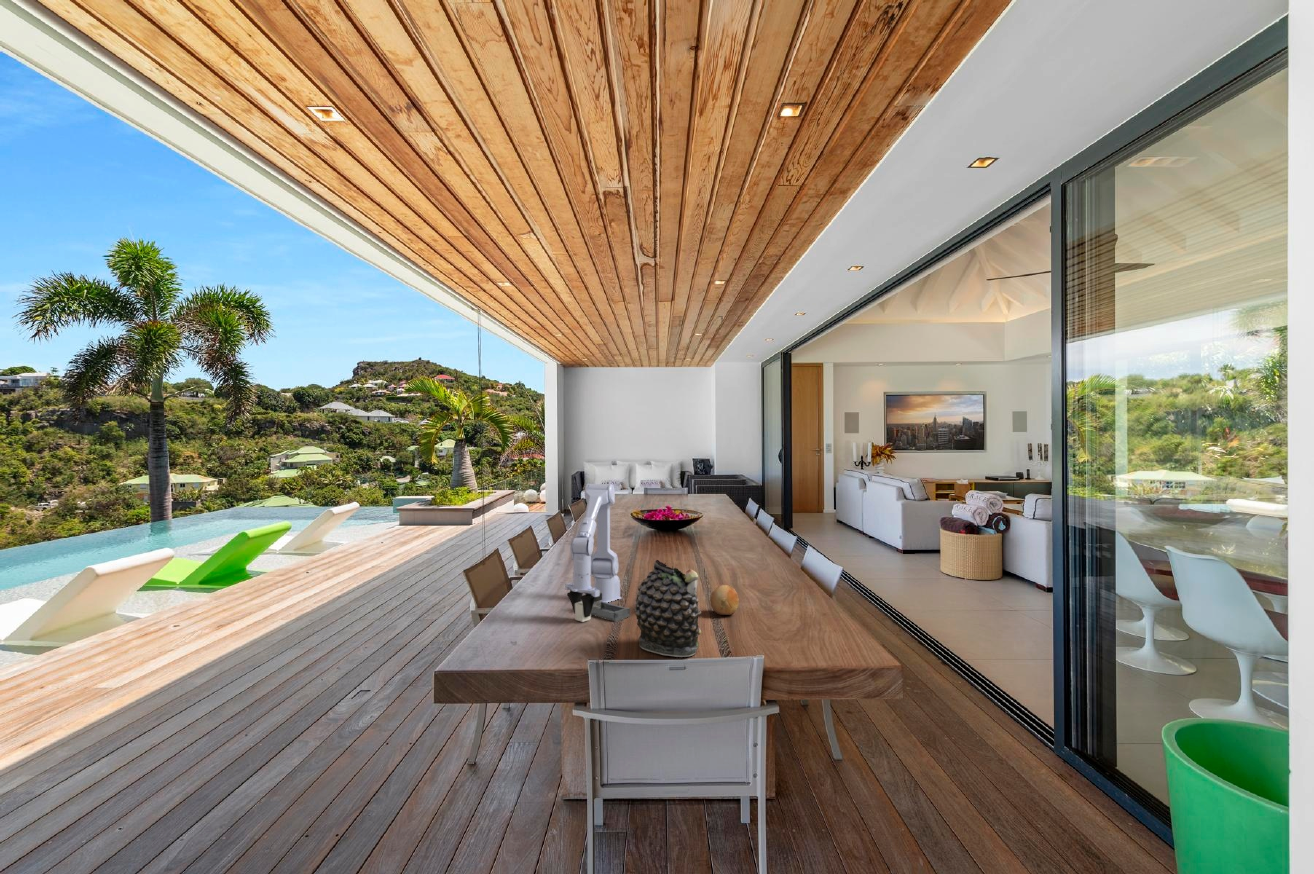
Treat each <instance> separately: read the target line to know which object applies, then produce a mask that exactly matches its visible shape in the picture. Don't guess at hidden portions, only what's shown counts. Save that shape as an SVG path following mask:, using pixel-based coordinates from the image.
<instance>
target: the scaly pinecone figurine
mask: <svg viewBox="0 0 1314 874" xmlns="http://www.w3.org/2000/svg"><path fill="white" fill-rule="evenodd" d="M653 564H654V565H653V570H652V571H649V572H648V573H647V575H646V578H644V579H643V580H642V581H641V582H640V583H641V584H640V585H638V586H637V590H638V592H636V598H635V607H634V608H633V611H634V612H635V616H636V620H637V623H636V625H637V627H638V628H639V629H640V630H639V631H640V635H639V637H638V643H639V647H640V648H641V649H642V650H644V651H647V652H651V653H654V654H658V655H662V656H669V657H676V658H678V657H679V658H683V657H684V658H686V657H691V656H692V657H693V656H694V655H696V653H697V652H698V648H699V645H700V644H699V641H698V638H699V635H701V634H702V630H701V628H700V627H699V625H698V624H699V616H701V614H702V611H701V610H700V609H699V607H698V606H699V602H700V601H699V598H698V596H697V595H698V594H697V590H698V579H699V575H698V572H696V571H695V570H693V569H691V568H690V569H689V570H687V571H686V573H683V572H682V571H681V570H679V568H677V567H676V566H675V567H674V566H673V565H671V567H670V566H668V565H667V563H666V562H665V563H663V562H662V561H660V560H658V559H656V560H655V561H654V563H653Z"/></svg>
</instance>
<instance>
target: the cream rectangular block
mask: <svg viewBox="0 0 1314 874" xmlns="http://www.w3.org/2000/svg"><path fill="white" fill-rule="evenodd" d="M574 610H575V614H574V620H575V621H578V622H582V623H584V622H587V621H590V620H591V618H592V615H591V614H590V616H588V617H584V609H583V603H582V600H581V602H578V603H574Z"/></svg>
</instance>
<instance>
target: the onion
mask: <svg viewBox="0 0 1314 874" xmlns="http://www.w3.org/2000/svg"><path fill="white" fill-rule="evenodd" d="M709 601H710V602H709V603H710V607H711V608H712V610H713V611H714V612H715V613H716V614H718V615H719V614H720V616H721V615H722V616H731V615H732V614H734V613H736V612H737V610H738V608H739V605H740V598H739V594H738V592H737V591H736V589H735V588H734V587H732V586H731V585H727V584H721V585H718V586H717V587H716V588H715V589H713V591H712V592H711V596H710V600H709Z"/></svg>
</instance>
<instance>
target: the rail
mask: <svg viewBox="0 0 1314 874" xmlns="http://www.w3.org/2000/svg"><path fill="white" fill-rule="evenodd" d="M601 600H602V593H601V592H600V596H598V597H597V598H596V600H595V602H594V604H593V607H592V610H591V616H593V615H596V616H595V617H597V616H598V618H600V617H603V618H602V619H604V618H606V619H605V620H608V621H611V620H612V621H611V622H615V623H616V622H619V621H621V620H625V619H627V617H628V618H631V608H630V607H624V606H620V605H616V604H613V603H611V602H609V603H606V602H602V601H601Z"/></svg>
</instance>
